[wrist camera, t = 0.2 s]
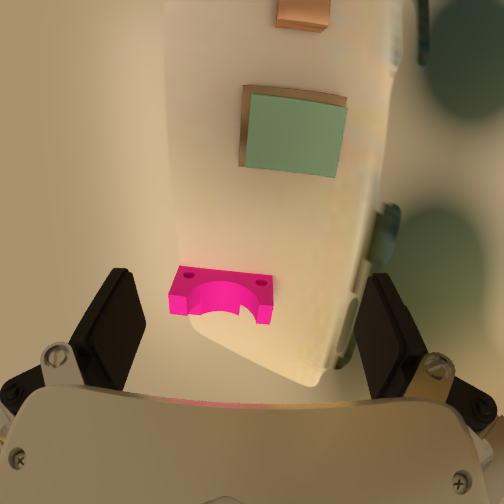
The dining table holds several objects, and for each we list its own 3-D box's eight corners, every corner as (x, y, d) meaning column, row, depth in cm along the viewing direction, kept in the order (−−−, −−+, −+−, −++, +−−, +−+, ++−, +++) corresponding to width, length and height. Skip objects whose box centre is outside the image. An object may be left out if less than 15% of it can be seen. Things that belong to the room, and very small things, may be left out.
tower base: (245, 84, 34) (243, 85, 31) (338, 95, 34) (346, 97, 31) (240, 158, 39) (238, 166, 36) (329, 166, 40) (335, 175, 36)
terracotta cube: (278, -10, 27) (281, -23, 22) (322, -4, 27) (331, -16, 22) (275, 27, 30) (278, 18, 25) (320, 32, 30) (329, 25, 25)
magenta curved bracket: (180, 294, 52) (171, 325, 45) (179, 265, 49) (168, 294, 42) (267, 303, 52) (267, 335, 46) (272, 274, 49) (273, 305, 43)
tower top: (252, 92, 31) (251, 94, 28) (338, 105, 31) (347, 108, 28) (246, 157, 35) (244, 167, 32) (328, 167, 36) (335, 178, 32)
